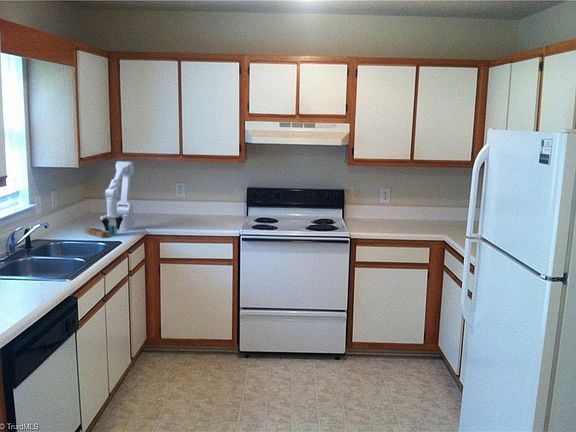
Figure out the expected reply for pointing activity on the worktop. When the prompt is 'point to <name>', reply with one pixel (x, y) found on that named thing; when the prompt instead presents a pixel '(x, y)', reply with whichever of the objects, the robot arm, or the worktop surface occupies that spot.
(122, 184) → the robot arm
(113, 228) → the clip
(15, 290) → the worktop surface
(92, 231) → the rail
